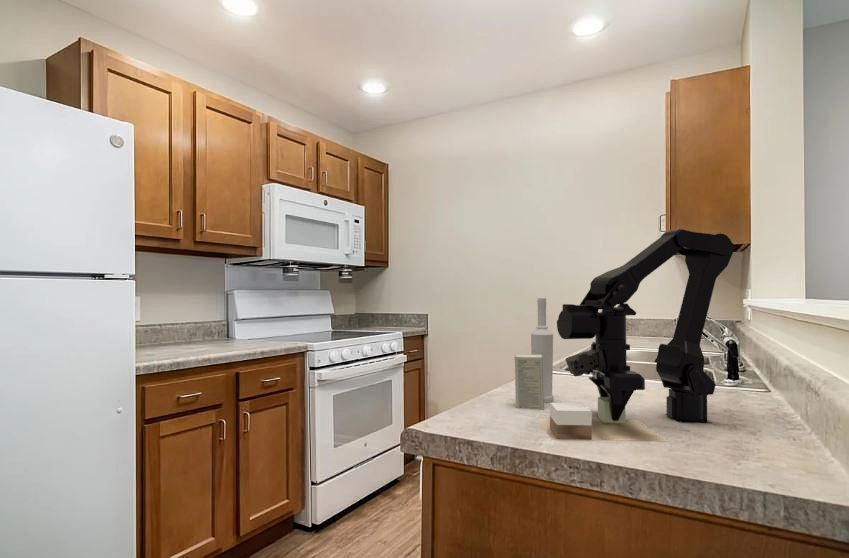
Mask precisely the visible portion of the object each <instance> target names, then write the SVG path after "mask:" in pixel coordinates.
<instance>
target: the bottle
mask: <svg viewBox="0 0 849 558" xmlns="http://www.w3.org/2000/svg"><path fill="white" fill-rule="evenodd" d="M536 302H537V305H536V306H537V326H535V327H536V328H535V330H533V331H532V332H531V333H530V349H531V352H530V355H542V357H543V397H544V404H550V403H554V395H553V376H554V375H553V374H554V373H553V367H554V365H553V364H554V363H553V361H554V355H553V354H554V334H553V332H551V331H550V330H549V328H548V326H547V298H546V297H545V298H538V297H537V300H536Z"/></svg>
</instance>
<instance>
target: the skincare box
mask: <svg viewBox="0 0 849 558" xmlns="http://www.w3.org/2000/svg"><path fill="white" fill-rule="evenodd" d="M514 380H515V381H514V382H515V383H514V385H515V387H514V388H515V408H516V409H524V410H525V409H529V410H544V408H545V407H544V404H545V403H544V397H543V357H542V355H531V354H519V353H517V354H515V355H514Z"/></svg>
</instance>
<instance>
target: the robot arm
mask: <svg viewBox="0 0 849 558" xmlns="http://www.w3.org/2000/svg"><path fill="white" fill-rule="evenodd" d="M734 249H735V245H734V242H732V241H731V238H730V237H729V236H728V235H727V234H724V233H721V232H720V233H714V234H712V233H703V232H697V231H691V230H688V229H683V228H678V229H674V230H668V231H666V232H664V233H662V235H661V236H660V237H659V238H657V239H656V240H655V241H654V242H652V243H651V244H650V245H648V246H647V247H646V248H644V249H643V250H641V251H640V252H639V253H638V254H636V255H635V256H634V257H632V258H631V259H630V260H629V261H627V262H626V263H624V264H623V265H621V266H619V267H617V268H613V269H611V270H608V271H605V272H604V273H602V274H600V275H597V276H596V277H594V278H593V279H592V281H591V282H590V288H589V290H588V292H587V293H586V294H585V296H584V298H583V299H582V301H581V302H580V304H571V303H570V304H568V303H563V304H562V310H561V311H560V312H559V314H558V317H557V320H556V328H557V334H558V335H559V337H560V338H561V339H563V340H584V339H585V340H588V339H589V340H590V339H594V338H595V339H594V340H595V341H593V342H592V343H590V350H586V351H582V352H579V353H576V354H574V355H570V356H568V357H566V358H565V359H564V360H565V362H566V365H567V367H568V371H569V373H570V374H571V375H573V376H574V377H580V376H582V375H584V374H585V375H589V376H588V379H589V381H591V382H592V383H593V384H594V385H595V386H596V388H597V391H598V395H599V397H608V399H609V405H610V412H611V417H612V420H613V421H618V420H619V418H620V416H621V414H622V412H623V410H624V408H625V409H626V406H627V404H628V403H629V401H630V399H631V397H632V395H633V393H634V392H636V391H644V390H645V389H646V379H645V378H644V377H643V376H642V375H641V374H640V373H638V372H635V371H633V370H631V365H629V364H628V363H627V361H628V360H627V351H630V350H631V345H630V344H628V343H627V316H636V315H637V311H635V309H633V308H632V307H630V305H629V303H627V302H628V301H629V300H630V299H631V298H632V297H633V296H634V294H635V293H636V292H637V291H638V289H639V288H640V287H639V286H640V283H642V281H643V280H644V279H645V278H647V277H648V276H649V275H651V274H652V273H654V271H656V270H657V269H658V268H659V267H661V266H662V265H664V264H665V263H666V262H668V260H670V259H671V258H672V257H674V256H675V255H676V254H677V255H680V256H684V257H685V259H684V262H685V265H686V268H687V271H688V277H687V282H686V286H685V290H684V294H683V298H682V302H681V306H680V310H679V312H678V318H677V321H676V325H675V330H674V333H673V337H672V339H671V340H670V341H669V342H668V343H667V344H665V343H660V344H659V346H658V349H657V355H656V357H655V359H654V363H656V365H655V369H656V370H655V371H656V373H657V375H658V377H659V378H660V381H661V382H662V386H663V388H666V389H667V388H668V395H667V396H666V413H665V416H666V417H668V418H670V419H672V420H674V421H676V422H677V423H681V424H682V423H685V424H689V423H690V424H693V423H694V424H712V423H713V422H712V421H711V420H708V396H711V395H714V394H715V389H716V386H717V385H716V383H715V382H714V381H713V379H712V378H711V377H710V376H709V375H708V374H707V373H706V372H705V371H704V368H705V357H704V356H705V355H704V353H703V351H702V347H701V341H702V337H703V333H704V328H705V325H706V321H707V317H708V313H709V308H710V304H711V300H712V295H713V292H714V288H715V284H716V280H717V278H718V277H719V276H720V275H721V274H722V272H723V271H725V269H726V268H727V267H728V266H729V263H730V261H731V259H732V257H733V254H734ZM599 310H601V311H599ZM590 373H591V374H592V376H590V375H591V374H590Z"/></svg>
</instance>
